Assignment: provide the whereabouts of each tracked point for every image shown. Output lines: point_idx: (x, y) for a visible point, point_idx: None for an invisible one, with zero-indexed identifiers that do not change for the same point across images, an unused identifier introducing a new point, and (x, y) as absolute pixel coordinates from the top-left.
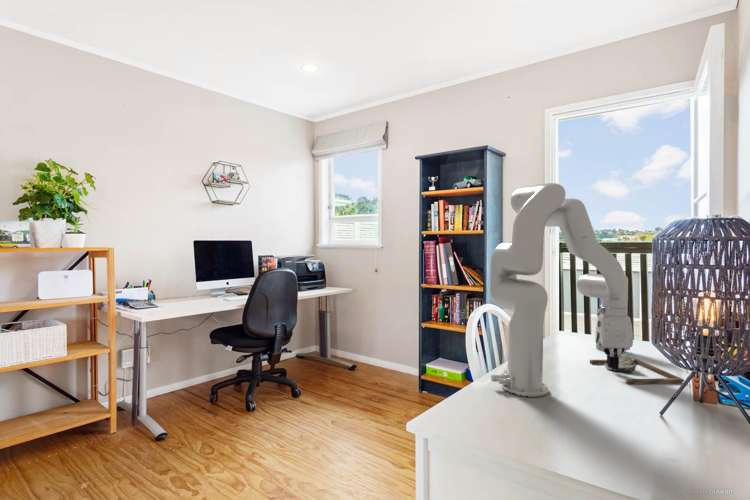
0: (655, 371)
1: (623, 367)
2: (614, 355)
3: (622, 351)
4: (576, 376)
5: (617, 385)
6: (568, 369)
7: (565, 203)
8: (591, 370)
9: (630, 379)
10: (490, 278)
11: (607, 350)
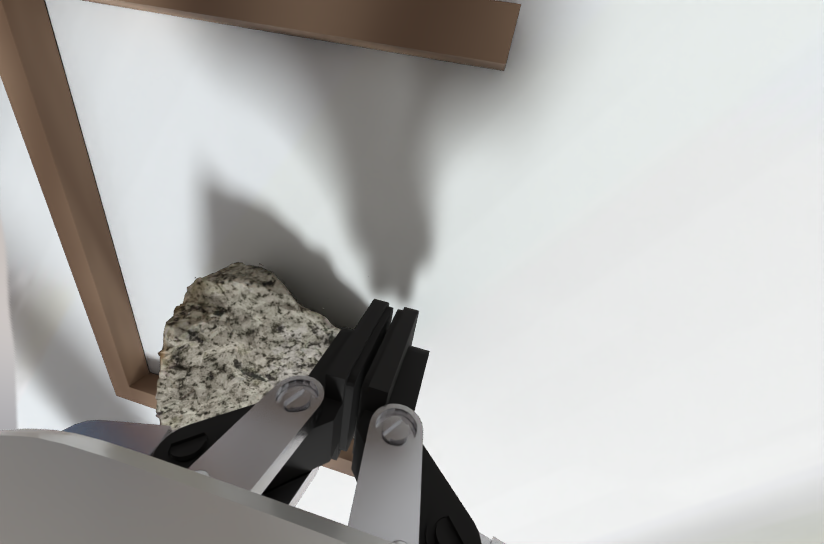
0: (102, 231)
1: (298, 314)
2: (337, 422)
3: (212, 428)
4: (805, 356)
5: (685, 17)
6: (666, 467)
7: None
8: (511, 396)
9: (471, 40)
10: None
11: (445, 529)
